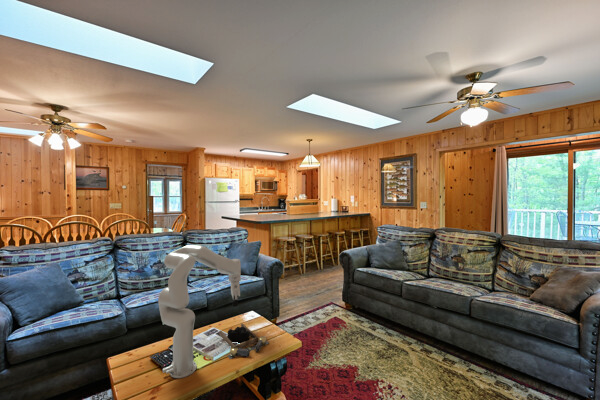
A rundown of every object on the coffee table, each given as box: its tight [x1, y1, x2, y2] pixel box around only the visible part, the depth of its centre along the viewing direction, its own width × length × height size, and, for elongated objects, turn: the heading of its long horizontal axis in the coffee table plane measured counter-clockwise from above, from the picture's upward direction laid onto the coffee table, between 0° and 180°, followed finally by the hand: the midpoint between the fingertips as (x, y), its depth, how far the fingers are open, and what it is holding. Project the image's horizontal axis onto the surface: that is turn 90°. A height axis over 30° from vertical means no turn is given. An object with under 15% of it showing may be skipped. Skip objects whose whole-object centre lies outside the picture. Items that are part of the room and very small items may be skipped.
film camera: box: [227, 326, 251, 343], centre depth 163 cm, size 15×10×9 cm, turn 77°
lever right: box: [255, 335, 267, 353], centre depth 155 cm, size 11×4×3 cm, turn 170°
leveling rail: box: [227, 340, 270, 360], centre depth 153 cm, size 25×4×1 cm, turn 128°
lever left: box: [229, 347, 251, 357], centre depth 147 cm, size 11×4×3 cm, turn 80°
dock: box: [218, 323, 259, 349], centre depth 164 cm, size 16×22×3 cm
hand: (235, 305), depth 172 cm, fingers closed
